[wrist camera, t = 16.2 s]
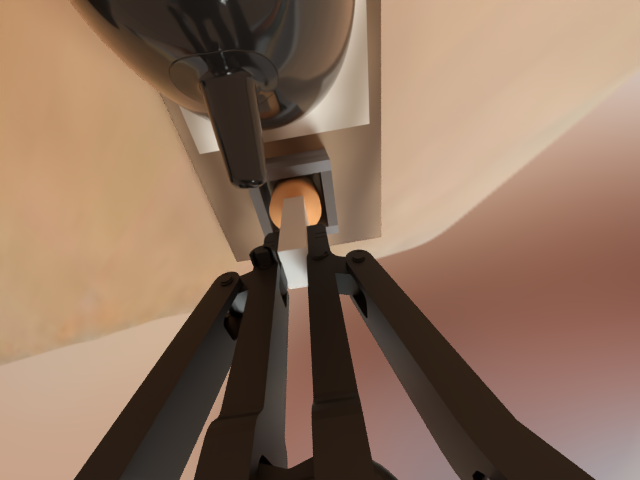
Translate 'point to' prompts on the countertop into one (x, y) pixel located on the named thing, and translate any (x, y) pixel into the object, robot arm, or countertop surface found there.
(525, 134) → the countertop surface
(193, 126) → the drawing board
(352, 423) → the robot arm
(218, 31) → the pump dispenser
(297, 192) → the button
